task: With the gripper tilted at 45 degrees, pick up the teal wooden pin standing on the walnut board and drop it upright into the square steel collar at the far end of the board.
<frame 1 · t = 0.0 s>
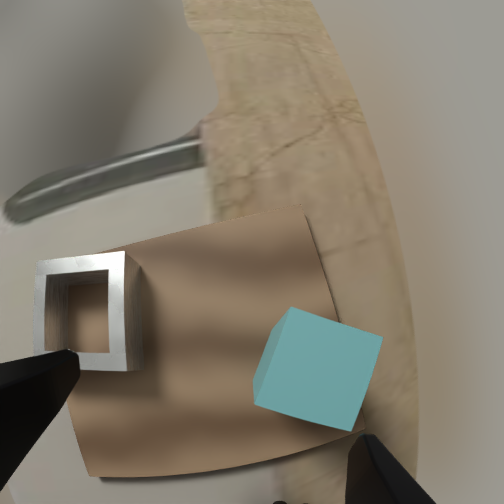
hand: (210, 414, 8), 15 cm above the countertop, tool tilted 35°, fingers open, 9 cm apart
collar: (95, 318, 22), resting on board
pin: (288, 363, 21), point 1 cm above the countertop, touching board
board: (189, 353, 23), on the countertop
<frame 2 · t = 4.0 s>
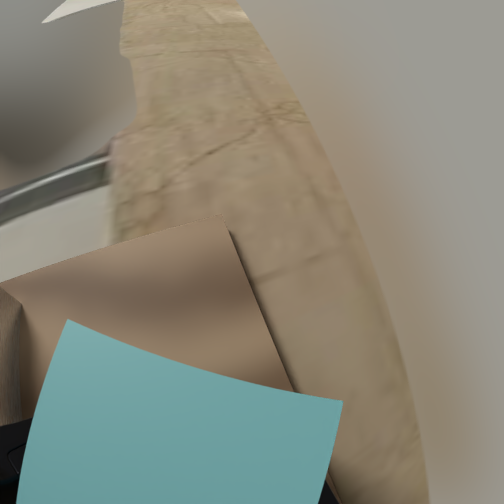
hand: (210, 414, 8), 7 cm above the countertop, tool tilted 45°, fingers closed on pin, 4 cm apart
pin: (211, 441, 12), point 1 cm above the countertop, touching board, gripper
board: (79, 421, 13), on the countertop
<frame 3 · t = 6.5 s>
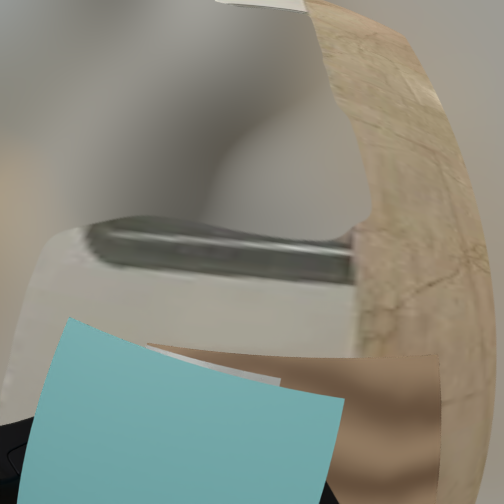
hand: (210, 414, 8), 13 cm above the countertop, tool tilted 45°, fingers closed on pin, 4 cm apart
collar: (200, 426, 18), resting on board
pin: (212, 440, 12), point 8 cm above the countertop, touching gripper
board: (298, 481, 17), on the countertop
when the fingers open (8 cm above the countertop, at t = 8.9 s): pin drops 1 cm, resting on board.
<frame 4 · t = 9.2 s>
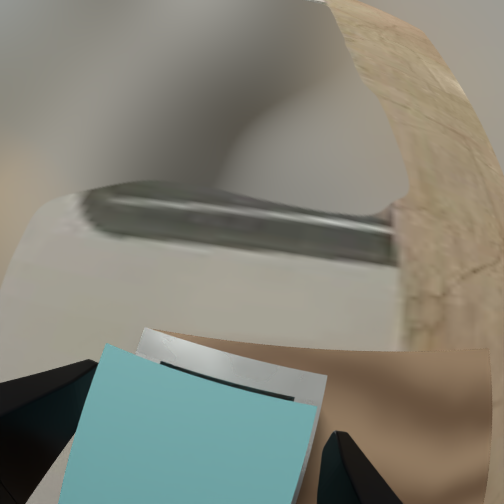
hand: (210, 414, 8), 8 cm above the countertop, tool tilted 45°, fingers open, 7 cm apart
collar: (213, 439, 13), resting on board
pin: (214, 438, 13), point 1 cm above the countertop, touching board
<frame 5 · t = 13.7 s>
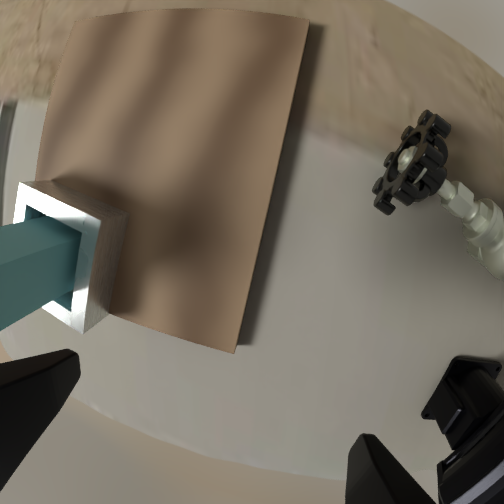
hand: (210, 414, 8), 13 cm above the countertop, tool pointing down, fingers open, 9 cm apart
valve: (450, 209, 18), on the countertop
collar: (75, 246, 21), resting on board
pin: (75, 246, 21), point 1 cm above the countertop, touching board
board: (138, 160, 20), on the countertop
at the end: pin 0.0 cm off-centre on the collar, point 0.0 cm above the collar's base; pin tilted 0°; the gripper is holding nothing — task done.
